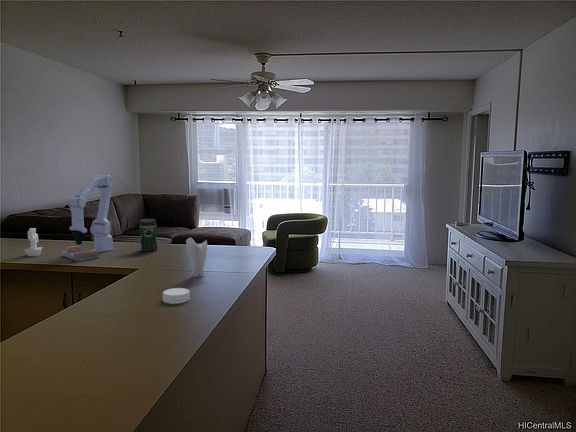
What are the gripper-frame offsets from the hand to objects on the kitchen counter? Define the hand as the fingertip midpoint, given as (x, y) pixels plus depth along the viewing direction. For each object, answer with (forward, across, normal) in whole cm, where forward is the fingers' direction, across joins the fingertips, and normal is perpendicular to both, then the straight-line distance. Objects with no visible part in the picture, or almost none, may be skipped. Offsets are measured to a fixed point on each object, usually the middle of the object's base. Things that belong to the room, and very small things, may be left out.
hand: (78, 244), depth 235 cm
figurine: (+7, -24, -13) cm, 28 cm away
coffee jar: (+7, +12, +35) cm, 38 cm away
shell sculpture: (+7, +78, +15) cm, 80 cm away
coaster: (+8, +98, -13) cm, 99 cm away
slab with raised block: (+7, -8, 0) cm, 10 cm away
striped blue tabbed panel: (+7, +2, 0) cm, 7 cm away
